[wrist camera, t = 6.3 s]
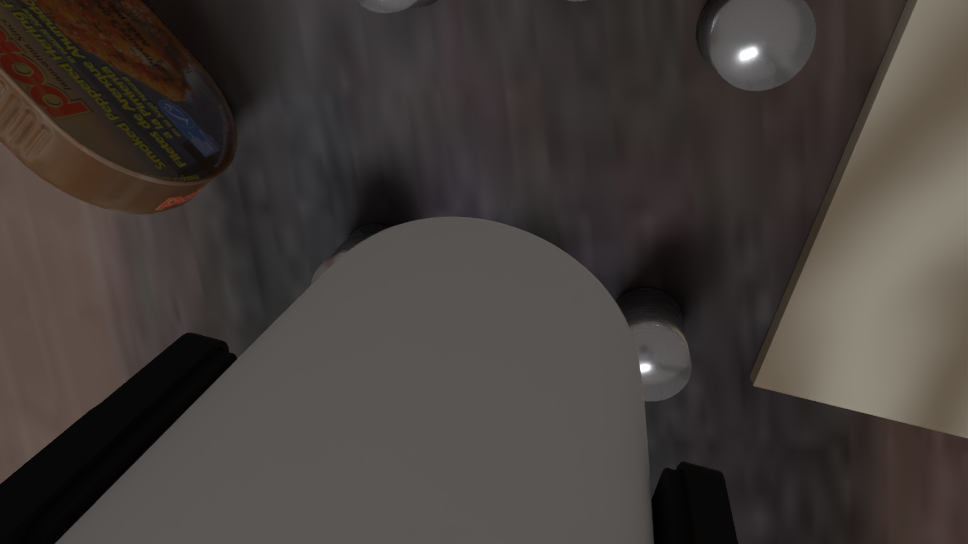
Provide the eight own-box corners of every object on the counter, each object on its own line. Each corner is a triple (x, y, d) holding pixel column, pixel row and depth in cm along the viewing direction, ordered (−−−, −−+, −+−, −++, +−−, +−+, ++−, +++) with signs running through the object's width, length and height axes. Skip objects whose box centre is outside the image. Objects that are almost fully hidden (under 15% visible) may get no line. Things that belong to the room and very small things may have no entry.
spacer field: (815, -55, 23) (853, -59, 19) (660, 384, 30) (666, 439, 27) (385, -138, 24) (345, -156, 20) (341, 305, 32) (306, 348, 28)
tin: (272, 144, 29) (153, 206, 21) (227, 187, 30) (99, 260, 23) (-3, -167, 26) (-259, -223, 18) (-42, -106, 27) (-296, -134, 19)
